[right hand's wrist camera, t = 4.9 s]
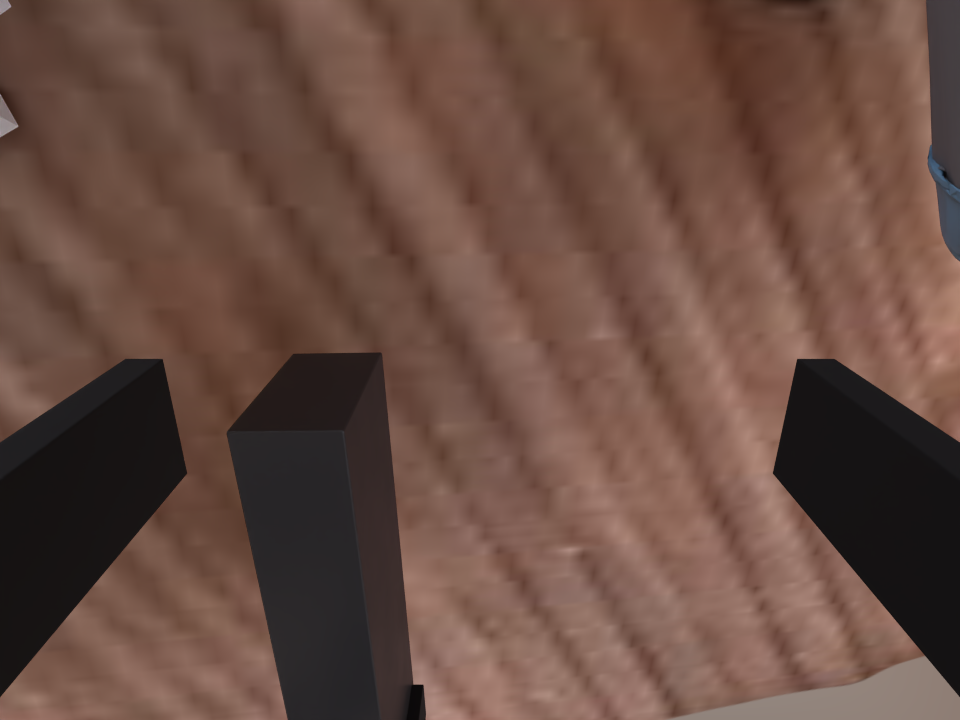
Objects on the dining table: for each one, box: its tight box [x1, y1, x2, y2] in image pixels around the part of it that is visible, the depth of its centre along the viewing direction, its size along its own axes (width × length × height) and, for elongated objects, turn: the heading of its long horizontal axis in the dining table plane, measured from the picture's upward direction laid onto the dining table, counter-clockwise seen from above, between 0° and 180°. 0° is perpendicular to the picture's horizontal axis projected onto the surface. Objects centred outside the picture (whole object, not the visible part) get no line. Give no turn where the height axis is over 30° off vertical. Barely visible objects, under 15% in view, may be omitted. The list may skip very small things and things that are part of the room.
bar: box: [227, 353, 413, 720], centre depth 32 cm, size 28×4×8 cm, turn 1°
